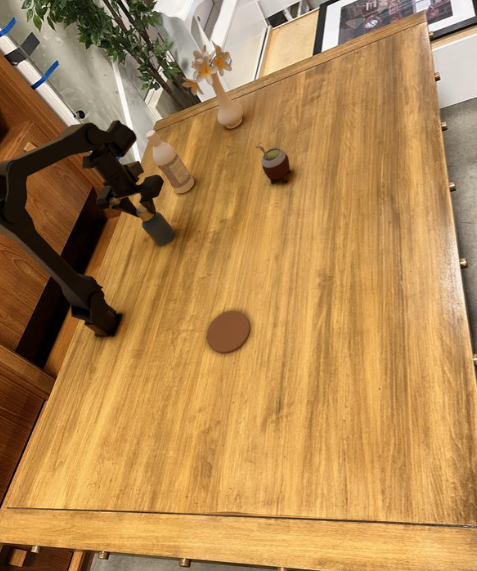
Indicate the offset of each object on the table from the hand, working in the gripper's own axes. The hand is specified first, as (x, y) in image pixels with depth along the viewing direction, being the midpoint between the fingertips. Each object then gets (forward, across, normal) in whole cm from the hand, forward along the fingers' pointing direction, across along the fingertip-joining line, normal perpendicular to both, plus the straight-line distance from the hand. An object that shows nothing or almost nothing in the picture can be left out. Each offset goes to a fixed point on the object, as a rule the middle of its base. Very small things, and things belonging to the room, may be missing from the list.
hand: (147, 215), depth 106 cm
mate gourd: (+9, -34, -15) cm, 38 cm away
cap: (0, 0, 0) cm, 0 cm away
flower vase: (+9, -13, -48) cm, 51 cm away
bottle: (+9, 0, 0) cm, 9 cm away
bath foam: (+9, -1, -21) cm, 23 cm away
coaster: (+9, -27, +32) cm, 43 cm away
